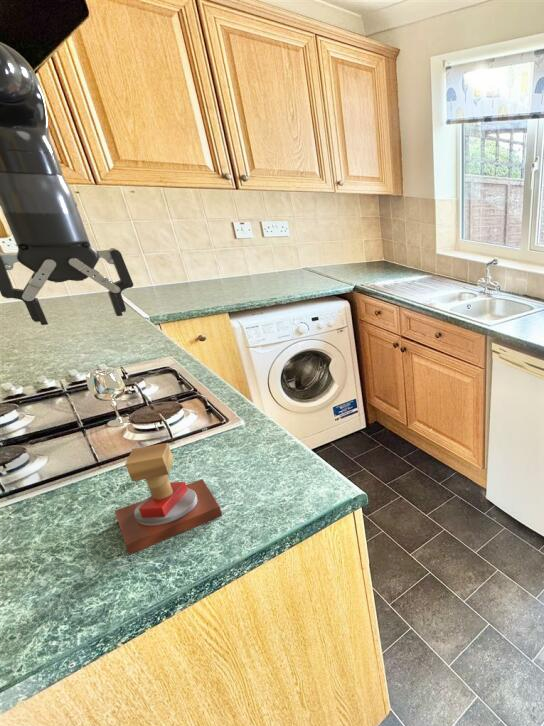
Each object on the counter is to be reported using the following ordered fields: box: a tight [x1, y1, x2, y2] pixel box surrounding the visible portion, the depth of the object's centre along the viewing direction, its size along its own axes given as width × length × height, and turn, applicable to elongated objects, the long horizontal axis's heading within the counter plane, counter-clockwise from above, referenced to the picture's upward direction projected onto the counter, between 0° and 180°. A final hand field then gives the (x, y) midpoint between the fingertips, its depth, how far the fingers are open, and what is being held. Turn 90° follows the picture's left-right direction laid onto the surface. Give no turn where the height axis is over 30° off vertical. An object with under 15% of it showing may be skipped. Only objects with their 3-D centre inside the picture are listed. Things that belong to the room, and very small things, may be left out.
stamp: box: [125, 442, 198, 526], centre depth 66 cm, size 8×8×11 cm
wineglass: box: [86, 368, 130, 428], centre depth 92 cm, size 6×6×12 cm
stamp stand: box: [114, 478, 223, 555], centre depth 69 cm, size 12×10×2 cm
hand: (83, 319), depth 66 cm, fingers open, 8 cm apart
